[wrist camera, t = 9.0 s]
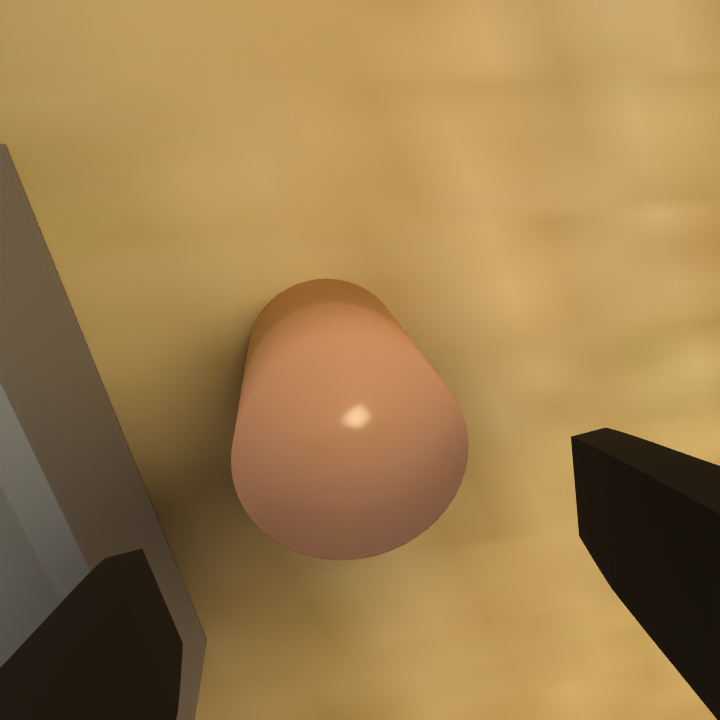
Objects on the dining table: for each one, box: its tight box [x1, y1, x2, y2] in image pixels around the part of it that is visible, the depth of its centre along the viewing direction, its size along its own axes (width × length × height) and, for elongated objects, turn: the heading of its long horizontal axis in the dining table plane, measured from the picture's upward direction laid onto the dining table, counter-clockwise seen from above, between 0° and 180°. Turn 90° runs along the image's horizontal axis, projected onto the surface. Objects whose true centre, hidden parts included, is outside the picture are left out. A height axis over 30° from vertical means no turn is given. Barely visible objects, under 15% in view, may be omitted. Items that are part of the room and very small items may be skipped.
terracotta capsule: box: [231, 279, 468, 560], centre depth 15 cm, size 5×5×7 cm
